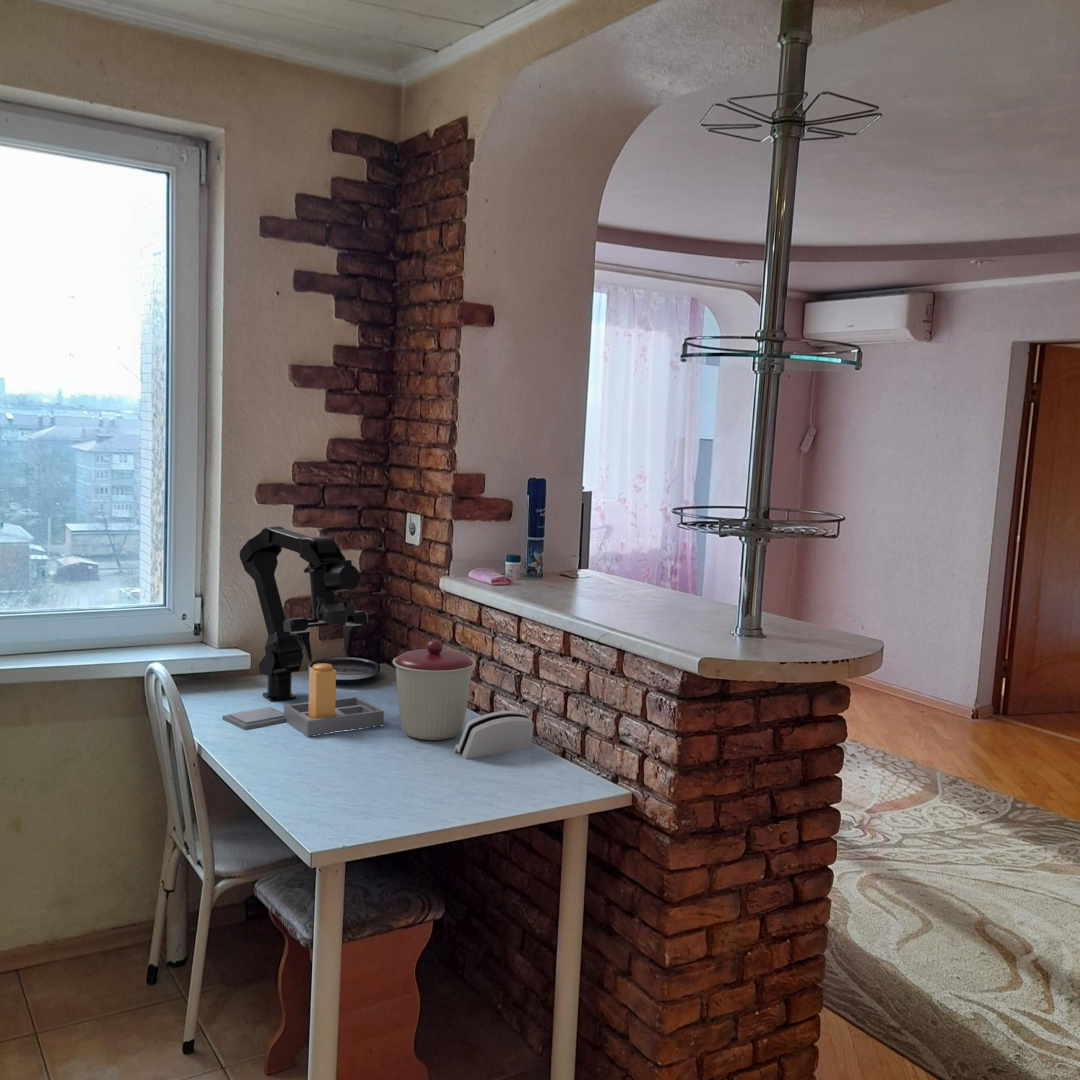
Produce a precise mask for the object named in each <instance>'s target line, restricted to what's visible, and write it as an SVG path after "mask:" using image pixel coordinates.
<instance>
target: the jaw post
mask: <svg viewBox="0 0 1080 1080" xmlns="http://www.w3.org/2000/svg"><path fill="white" fill-rule="evenodd" d="M336 683H337V670H336V669H334V668H333V665H332V664H331V663H315V664H313V665H312V667H309V668H308V702H309V706H308V717H309V718H311V719H317V718H325V717H332V716H335V699H337V698H336V697H337V696H336V690H337V689H336V688H337V687H336V686H337V684H336Z"/></svg>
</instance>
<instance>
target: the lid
mask: <svg viewBox="0 0 1080 1080" xmlns="http://www.w3.org/2000/svg"><path fill="white" fill-rule="evenodd" d="M222 720H224V721H226V722H228V723H229V724H231V725H234V726H236V727H237V728H240V729H242V730H249V729H255V728H259V727H260V728H261V727H265V726H272V725H277V724H279V723H281V724H282V723H287V722H286V718H285V717H284V711H281V710H278V709H276V708H273V707H271V706H266V707H262V708H255V709H250V710H245V711H240V712H235V713H234V712H233V713H228V714H224V715H222Z"/></svg>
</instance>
